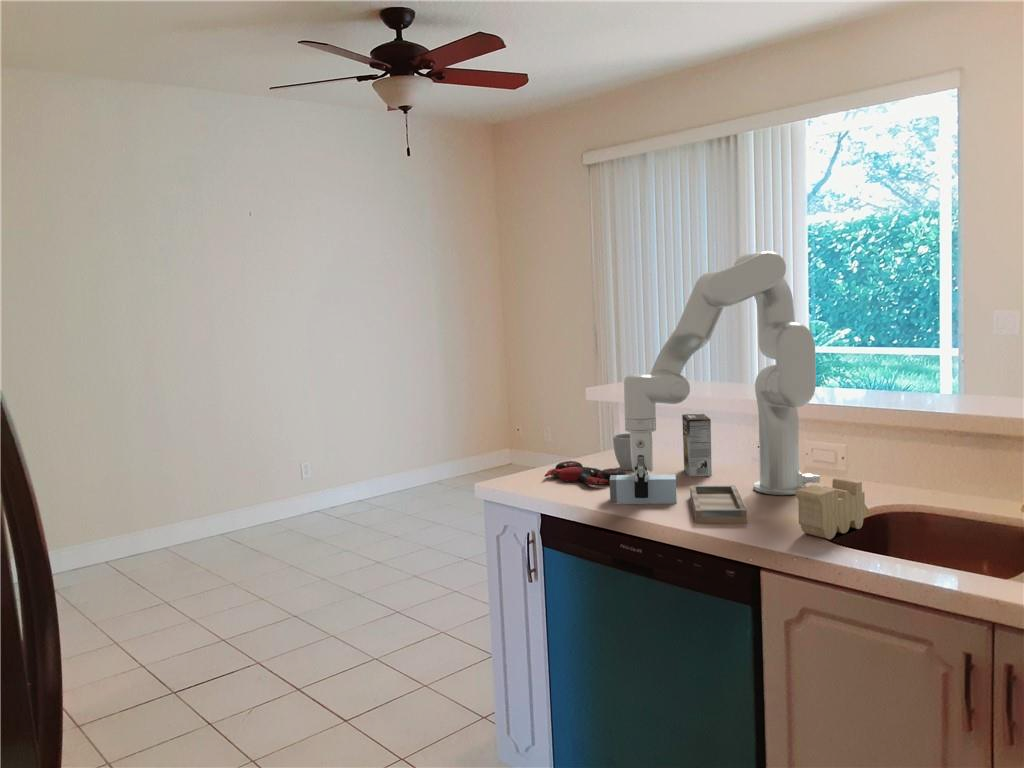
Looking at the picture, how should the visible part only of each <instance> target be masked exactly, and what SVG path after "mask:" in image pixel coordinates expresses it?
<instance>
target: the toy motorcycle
mask: <svg viewBox="0 0 1024 768" xmlns="http://www.w3.org/2000/svg"><path fill="white" fill-rule="evenodd" d="M625 471H626V470H625ZM625 471H624V470H623V469H620V468H614V467H613V468H606V469H602V470H601V469H599V468H596V467H589V466H587V467H586V466H583V464H582V463H581V462H578V461H575V460H567V461H566V460H565V461H561V462H559V463H558V464H556V465H555V467H554V468H552V469H549V470H548V471H547V472H546V474H544V477H549V476H551V477H559V479H561V480H562V481H564V482H569V483H585V484H586V485H587V486H596V485H610V475H627V472H625Z"/></svg>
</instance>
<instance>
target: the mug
mask: <svg viewBox="0 0 1024 768" xmlns="http://www.w3.org/2000/svg"><path fill="white" fill-rule="evenodd" d="M612 439H613V450H614V451H613V452H614V454H615V458H616V461H617V463H618V465H619V469H621V470H623V471H624V470H625V471H633V469H632V461H631V447H630V432H627V433H617V434H615V435H613V438H612Z"/></svg>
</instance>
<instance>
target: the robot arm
mask: <svg viewBox="0 0 1024 768" xmlns="http://www.w3.org/2000/svg"><path fill="white" fill-rule="evenodd" d="M786 267H787V265H786V262H785V260H784V258H783V256H782V255H780V254H779V253H777V252H774V251H771V250H770V251H769V250H764V251H757V252H756V251H755V252H750V253H746V254H745V253H744V254H743V255H741V256H739V257H738V258H737V259H736V260H735V262H734V264H733V265H732V266H731V267H728V268H726V269H723V270H719V271H710V272H706V273H703V274H702V275H700V277H698V279H697V280H696V282H695V284H694V285H693V286H694V287H693V288H692V291H691V293H690V295H689V298H688V300H687V302H686V304H685V308H684V310H683V312H682V313H681V317H680V319H679V321H678V323H677V325H676V327H675V329H674V330H673V331H672V333H671V335H669V338H668V339H667V340H666V342H665V344H664V345H663V346H662V347H661V349H660V351H659V353H658V355H657V357H656V359H655V362H654V363H653V366H652V368H651V371H650V373H649V374H648V373H633V374H628V375H626V376H625V378H624V379H623V391H624V392H623V393H624V397H623V398H624V431H625V432H627V433H630V447H631V461H632V469H633V470H632V472H634V475H635V498H648V481H647V475H649V473H652V472H653V471H654V469H653V468H654V467H653V466H654V462H653V461H654V460H653V459H654V457H653V452H654V451H653V432H656V431H657V418H656V417H657V416H656V414H657V413H656V411H657V409H656V408H657V407H656V404H657V403H658V404H669V405H675V404H676V405H677V404H680V403H682V402H684V401H685V400H686V399H687V398H688V397H689V395H690V392H691V385H690V382H689V381H688V379H687V378H686V377H685V376H683V375H682V371H683V370H684V367H685V366H686V364H687V363H688V361H689V360H690V358H691V357H692V356H693V355H694V354H696V352H697V351H699V350H700V349H701V348H703V347H704V346H706V344H708V342H709V341H710V339H711V337H712V335H713V333H714V331H715V329H716V325H717V324H718V322H719V319H720V316H721V314H722V312H723V310H724V308H726V307H730V306H733V305H736V304H739V303H741V302H743V301H747V300H748V299H750V298H752V297H754V300H755V303H756V308H757V329H758V331H757V332H758V337H757V338H758V347H759V351H760V352H761V354H762V355H763V356H765V357H766V358H768V359H771V360H775V362H776V364H770V365H768V366H765V367H763V368H762V369H761V370H760V371H759V372H758V374H757V375H756V378H755V382H754V391H755V398H756V403H757V413H758V439H759V440H758V450H759V451H758V453H759V456H758V457H759V480H758V481H755V482H754V483H753V489H754V491H756V492H758V493H761V494H766V495H772V496H773V495H776V496H790V495H792V496H793V495H795V492H796V490H798V489H801V488H804V487H807V483H809V484H810V483H812V484H820V481H821V480H820V475H817V474H812V473H802V471H801V470H800V421H799V420H800V419H799V418H800V417H799V411H798V408H800V407H804V406H805V405H807V404H809V402H810V401H811V400H812V399H813V397H814V395H815V393H816V392H815V391H816V385H817V373H816V371H817V369H816V368H817V365H816V364H817V363H816V360H817V359H816V345H815V339H814V336H813V334H812V332H811V331H810V329H809V327H807V326H806V325H804V324H802V323H799V322H796V321H795V309H794V297H793V293H792V290H791V288H790V285H789V284H788V282H787V280H786V279H785V278H784V277H785V274H786V272H787V268H786Z"/></svg>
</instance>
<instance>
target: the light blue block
mask: <svg viewBox="0 0 1024 768" xmlns="http://www.w3.org/2000/svg"><path fill="white" fill-rule="evenodd" d="M647 481H648V498H635V474H626V475H610V484H609V501H610V503H624V504H628V505H629V504H631V505H632V504H637V505H638V504H677V502H678V501H677V500H678V499H677V478H676V474H648V475H647Z"/></svg>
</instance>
